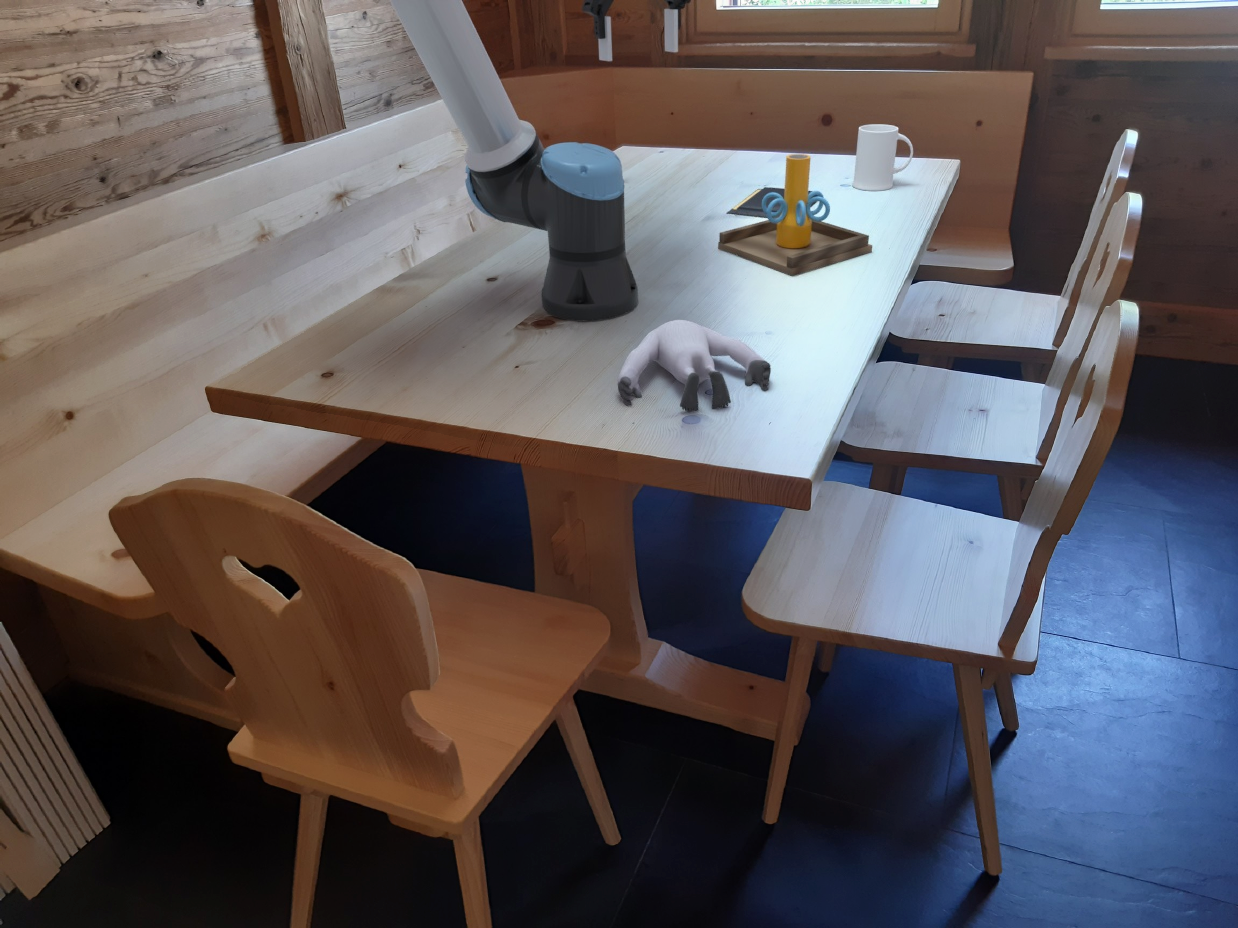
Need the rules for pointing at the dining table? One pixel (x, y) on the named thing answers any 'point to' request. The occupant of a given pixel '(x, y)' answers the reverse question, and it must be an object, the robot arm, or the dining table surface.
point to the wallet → (759, 203)
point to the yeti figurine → (691, 362)
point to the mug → (877, 157)
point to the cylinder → (795, 205)
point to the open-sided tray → (822, 250)
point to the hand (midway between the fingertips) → (639, 56)
